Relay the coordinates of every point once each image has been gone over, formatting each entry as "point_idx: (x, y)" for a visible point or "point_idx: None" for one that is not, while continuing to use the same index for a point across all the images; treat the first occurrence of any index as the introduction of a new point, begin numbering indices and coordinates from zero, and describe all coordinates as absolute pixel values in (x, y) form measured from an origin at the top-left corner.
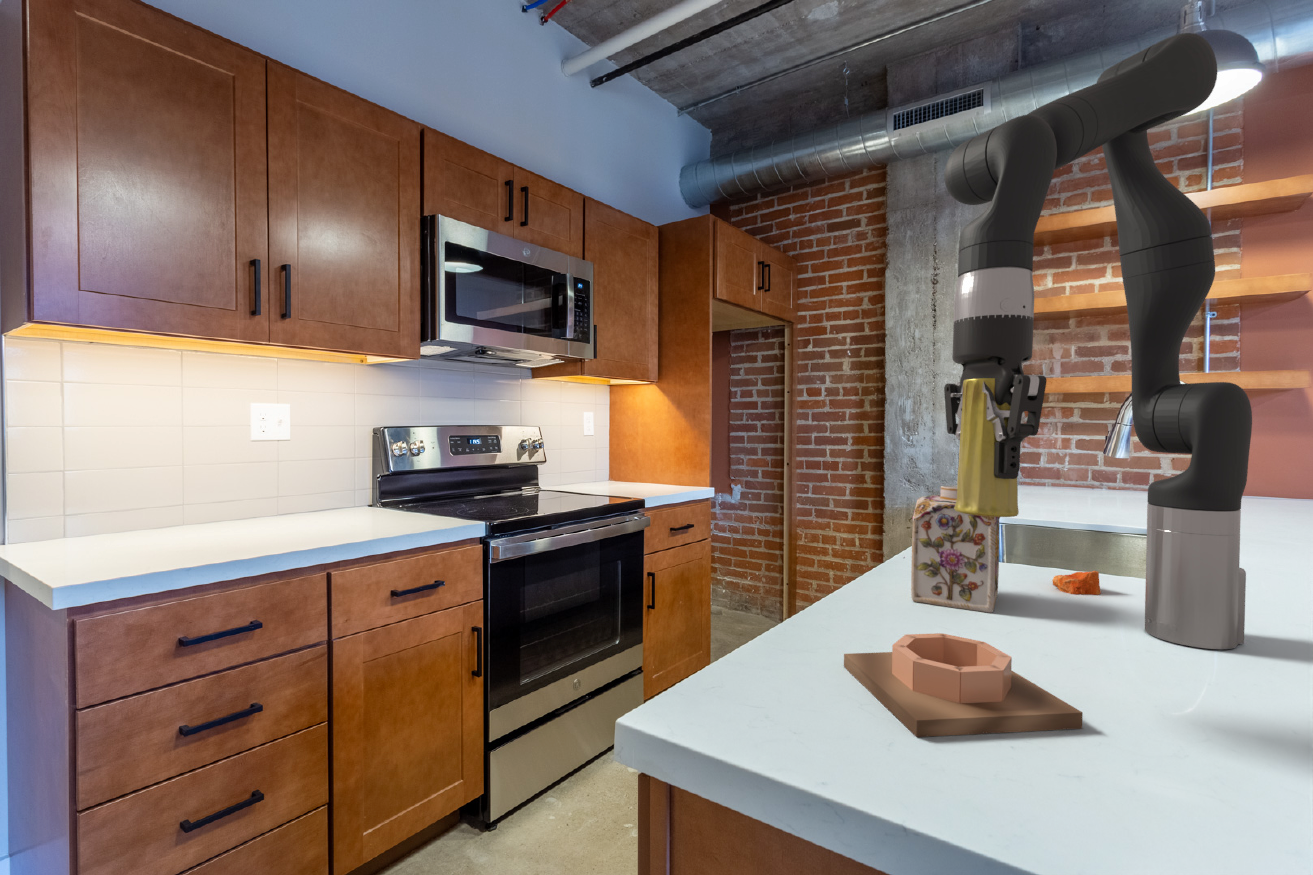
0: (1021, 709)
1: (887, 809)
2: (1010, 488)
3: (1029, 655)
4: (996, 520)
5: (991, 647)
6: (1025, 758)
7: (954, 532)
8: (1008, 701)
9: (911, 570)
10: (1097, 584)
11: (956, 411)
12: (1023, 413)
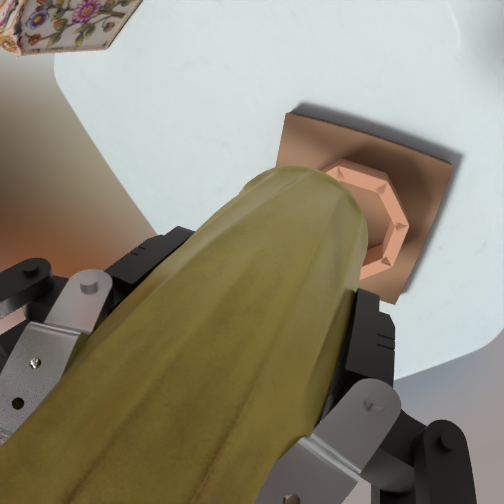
0: (425, 213)
1: (434, 361)
2: (356, 270)
3: (290, 33)
4: None
5: (355, 175)
6: (454, 254)
7: (57, 6)
8: (408, 208)
9: (77, 51)
10: None
11: (3, 362)
12: (349, 491)
